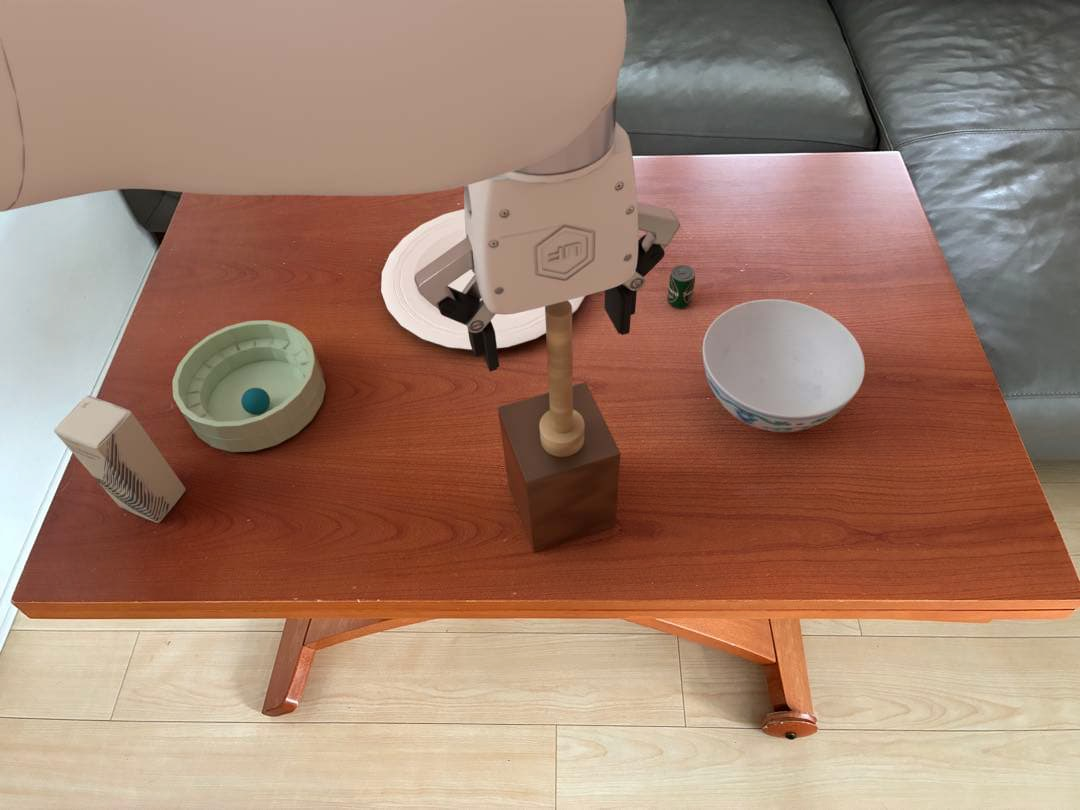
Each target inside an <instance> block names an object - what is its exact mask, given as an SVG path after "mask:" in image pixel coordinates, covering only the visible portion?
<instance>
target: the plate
mask: <svg viewBox="0 0 1080 810" xmlns="http://www.w3.org/2000/svg"><path fill="white" fill-rule="evenodd" d="M465 238H466V234H465V212H464V208H463V209H458V210H455V211H451V212H448V213H443V214H442V215H439V216H437V217H435V218H433V219H431V220H429V221H426V222H424V223H422V224H421V225H419V226H418V227H416V228H414V229H413V230H412V231H411V232H410V233H408V234H407V235H405V236H404V237H403V238H402V239H400V241H399V242H398V244H397V245H395V247H394V248H393V250H392V251H391V252H390V253H389V255H388V258H387V260H386V262H385V264H384V267H383V269H382V271H381V284H380V285H381V287H380V293H381V295H382V297H383V301H384V303H385V306H386V309H387V311H388V313H389V314H390V315H391V316H392V317H393V318H394V320H396V322H397V324H399V325H400V327H401V328H402V329H405V330H406V331H408V332H409V333H411V334H413V335H414V336H415V337H417V338H419V339H420V340H422V341H426V342H428V343H430V344H434V345H437V346H440V347H444V348H446V349H454V350H463V351H472V352H473V350H472V347H471V344H470V340H469V334H468V328H467V326H466V325H464V324H462V323H459V322H457V321H454V320H452V319H450V318H447V317H445V316H443V315H441V313H440V311H439V309H437V308H436V307H435V306H433V305H432V304H431V303H430V302H429V301H428V300H426V299H425V298H424V297H423V296H422V295H421V294H420V293H419V291H418V288H417V285H416V282H415V278H414V277H415V274H416V273H417V272H419V271H420V270H421V269H423V268H424V267H426V266H427V265H429V264H430V263H431V262H433V261H434V260H436V259H437V258H438V257H440V256H441V255H443V254H444V253H445V252H447V251H448V250H450V249H451V248H452V247H454V246H455V245H457V244H458V243H459V242H461V241H462V240H464V239H465ZM474 275H475V273H473V271H472V270H471V269H470V270H469V271H468V272H466V273H465V274H463V275H462V276H460V277H459V278H458V279H456V280H455V281H453V282H452V283H450V284H449V285H448V286H449V287H451V288H453V289H455V290H458V291H460V292H462V291H463V290H464V288H465V287H466V286H467V284H468V283H469V281H470V280H471V279H472V277H473V276H474ZM585 298H586V296H583V297H579V298H575V299H571V300H568V301H569V302H570V303H571V305H572V315H574V314H575V313H576V312H577V311H578V310H579V308H580V306H581V305H582V303H583V301H584V300H585ZM481 300H482V298H481V299H480V301H481ZM491 323H492V325H493V327H494V330H495V336H496V344H497V350H503V349H510V348H512V347H516V346H520V345H523V344H526V343H529V342H532V341H535V340H538V339H539V338H541V337H543V336H546V320H545V306H544V307H540V308H537V309H533V310H529V311H524V312H520V313H515V314H507V315H502V314H495V316H494V317H493V318H492V319H491Z"/></svg>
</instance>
